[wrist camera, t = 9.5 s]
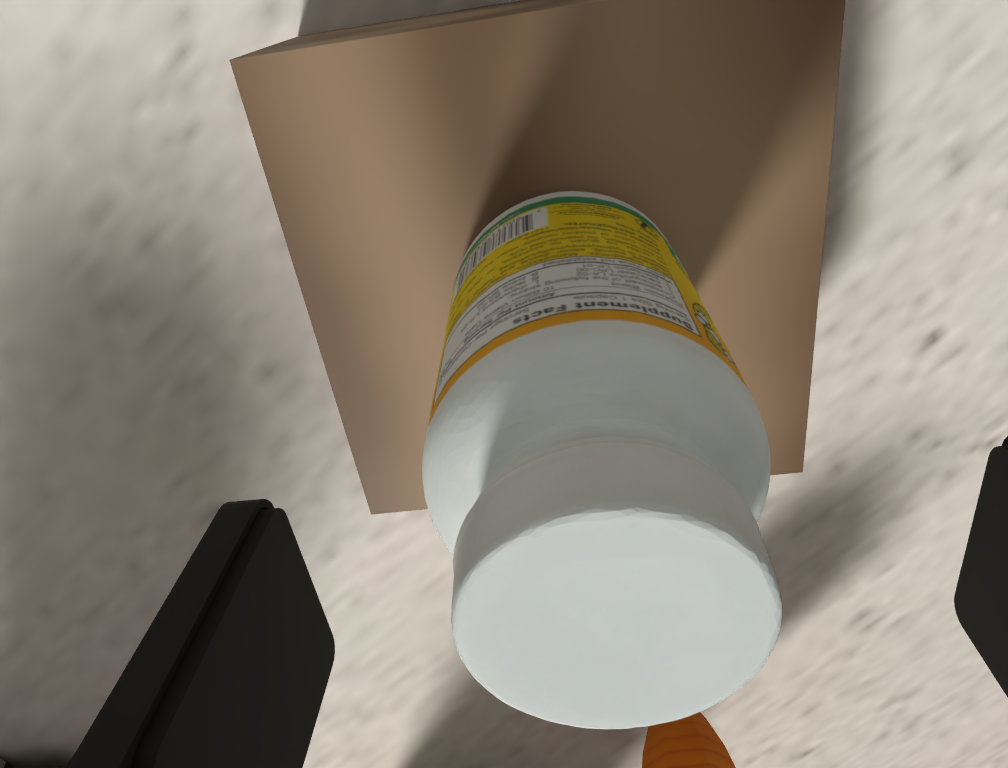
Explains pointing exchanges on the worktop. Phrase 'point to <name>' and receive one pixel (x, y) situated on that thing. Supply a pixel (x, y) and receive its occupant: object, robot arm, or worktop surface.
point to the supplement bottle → (597, 474)
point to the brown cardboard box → (547, 180)
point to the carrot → (685, 745)
